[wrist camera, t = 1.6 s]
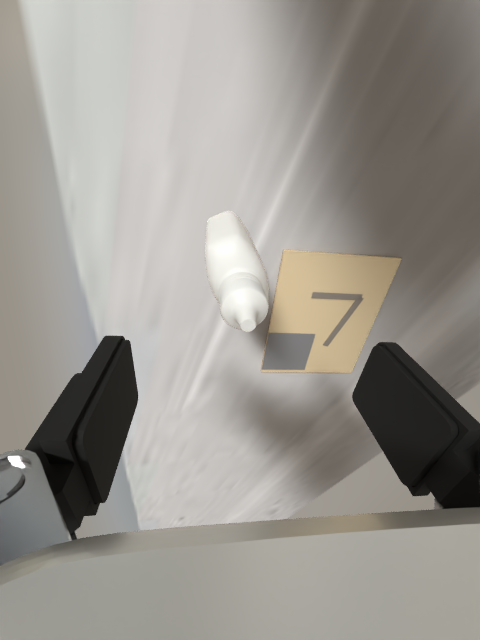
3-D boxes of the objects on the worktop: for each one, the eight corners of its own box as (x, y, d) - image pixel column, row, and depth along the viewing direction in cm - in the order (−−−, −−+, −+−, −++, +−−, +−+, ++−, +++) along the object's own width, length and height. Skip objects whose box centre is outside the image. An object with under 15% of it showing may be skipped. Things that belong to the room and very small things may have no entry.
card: (283, 249, 22) (284, 251, 22) (399, 257, 23) (402, 259, 23) (260, 370, 29) (261, 372, 29) (350, 370, 31) (351, 373, 31)
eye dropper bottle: (201, 274, 23) (193, 369, 13) (208, 205, 20) (205, 258, 10) (250, 280, 23) (279, 374, 13) (263, 214, 20) (313, 272, 10)
